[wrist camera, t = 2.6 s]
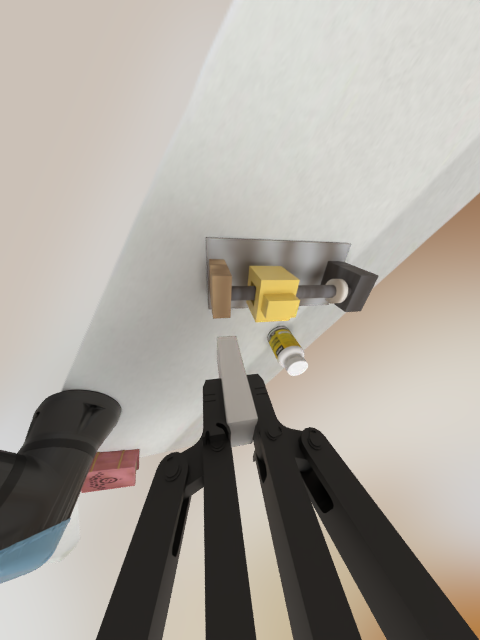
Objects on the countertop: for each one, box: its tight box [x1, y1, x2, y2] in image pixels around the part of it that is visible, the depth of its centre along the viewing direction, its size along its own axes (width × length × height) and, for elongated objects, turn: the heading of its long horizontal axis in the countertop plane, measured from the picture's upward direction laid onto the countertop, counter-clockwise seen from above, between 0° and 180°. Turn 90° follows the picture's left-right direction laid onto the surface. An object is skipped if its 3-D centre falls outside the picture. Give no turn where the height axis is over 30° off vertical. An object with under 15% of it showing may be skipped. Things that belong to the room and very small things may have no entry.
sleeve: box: [246, 266, 300, 322], centre depth 24 cm, size 5×6×8 cm
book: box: [81, 449, 139, 493], centre depth 54 cm, size 14×15×5 cm
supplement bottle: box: [268, 327, 308, 376], centre depth 36 cm, size 5×5×10 cm
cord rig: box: [206, 237, 378, 319], centre depth 28 cm, size 25×12×9 cm, turn 87°
